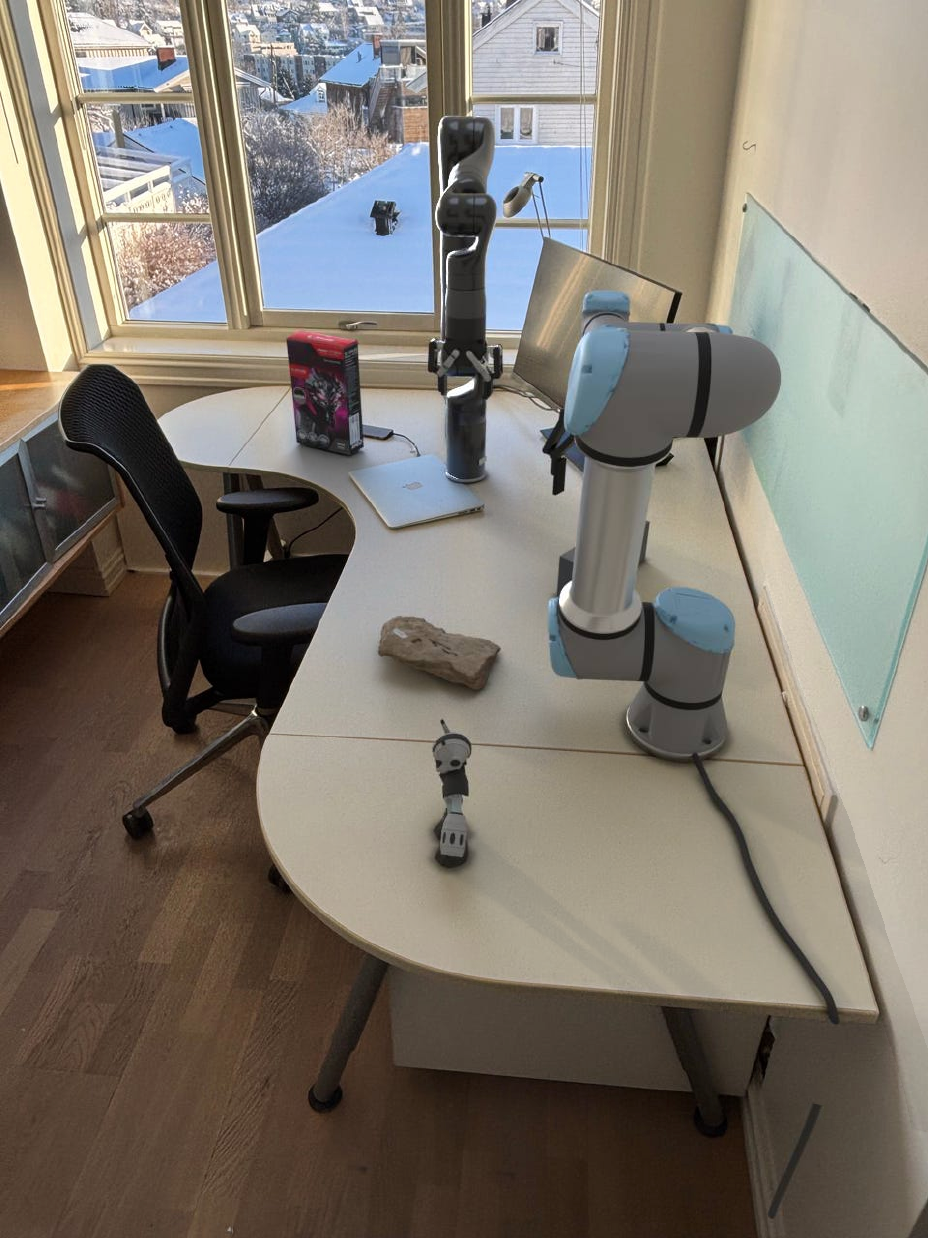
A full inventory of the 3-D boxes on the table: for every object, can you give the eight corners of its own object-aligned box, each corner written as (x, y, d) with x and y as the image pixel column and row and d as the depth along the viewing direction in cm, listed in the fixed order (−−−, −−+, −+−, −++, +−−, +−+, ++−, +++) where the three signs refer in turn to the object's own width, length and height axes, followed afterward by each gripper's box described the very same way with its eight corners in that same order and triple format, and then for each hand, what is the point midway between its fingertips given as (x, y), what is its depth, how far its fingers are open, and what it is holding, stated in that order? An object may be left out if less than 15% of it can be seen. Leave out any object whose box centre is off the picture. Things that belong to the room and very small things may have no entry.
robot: (474, 902, 115) (476, 785, 104) (435, 903, 115) (433, 787, 104) (466, 791, 132) (467, 679, 120) (432, 792, 131) (430, 680, 120)
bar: (577, 605, 173) (581, 565, 168) (556, 596, 175) (559, 556, 170) (644, 559, 187) (650, 521, 182) (624, 551, 190) (628, 513, 185)
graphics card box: (294, 443, 234) (283, 336, 218) (310, 434, 239) (300, 328, 224) (350, 457, 227) (343, 347, 212) (366, 447, 232) (360, 339, 217)
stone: (354, 663, 151) (360, 631, 149) (385, 632, 165) (392, 602, 162) (474, 706, 148) (483, 673, 145) (496, 671, 161) (504, 640, 159)
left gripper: (508, 308, 171) (505, 393, 180) (434, 302, 174) (435, 386, 183) (498, 320, 165) (496, 406, 174) (422, 313, 168) (424, 399, 177)
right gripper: (675, 399, 150) (659, 517, 161) (553, 367, 164) (546, 478, 175) (650, 411, 145) (635, 532, 156) (526, 376, 159) (521, 490, 170)
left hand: (465, 396), depth 178 cm, fingers open, 8 cm apart
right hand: (588, 503), depth 166 cm, fingers open, 13 cm apart
